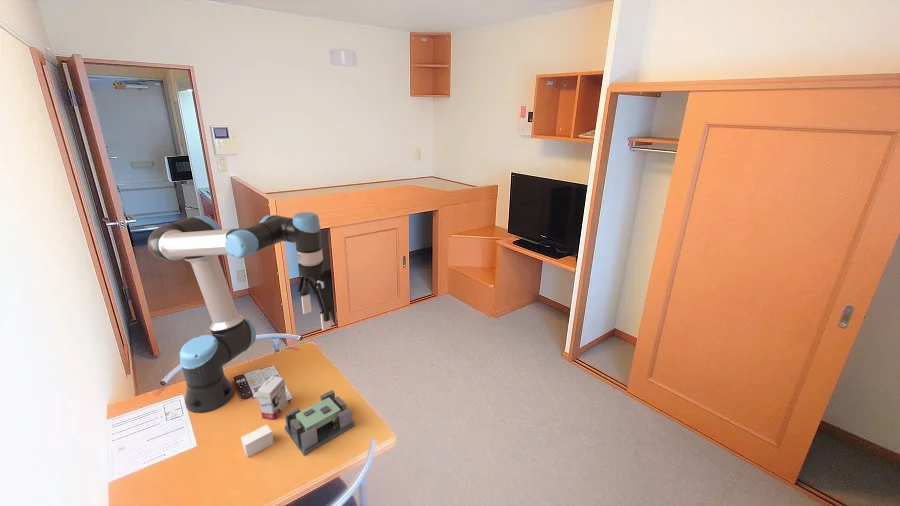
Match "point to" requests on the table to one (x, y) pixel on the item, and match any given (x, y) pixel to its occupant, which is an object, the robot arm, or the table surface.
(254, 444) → the riser
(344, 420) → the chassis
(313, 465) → the table surface
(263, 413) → the ink box
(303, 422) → the board
